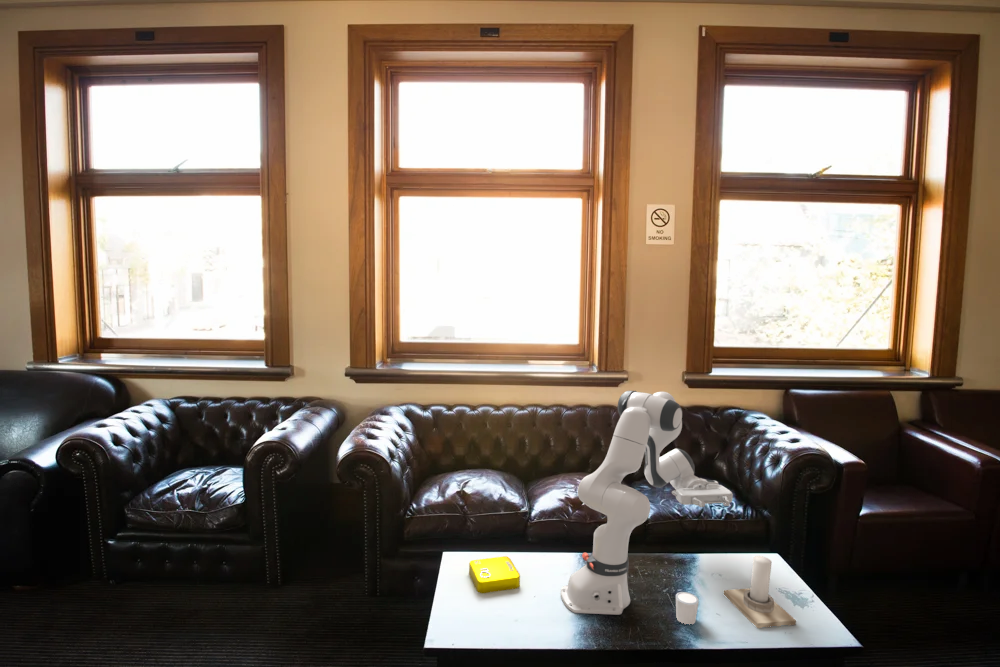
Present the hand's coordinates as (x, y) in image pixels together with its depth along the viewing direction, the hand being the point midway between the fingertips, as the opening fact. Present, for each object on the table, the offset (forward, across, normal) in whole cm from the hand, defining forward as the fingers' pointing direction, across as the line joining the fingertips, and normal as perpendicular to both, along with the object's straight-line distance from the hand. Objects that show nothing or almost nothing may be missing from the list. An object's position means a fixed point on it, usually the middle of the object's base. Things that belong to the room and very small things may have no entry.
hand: (715, 504), depth 193 cm
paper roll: (+21, +4, +24) cm, 32 cm away
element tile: (-7, -78, +26) cm, 82 cm away
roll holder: (+21, +4, +26) cm, 34 cm away
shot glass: (+23, -22, +26) cm, 41 cm away
